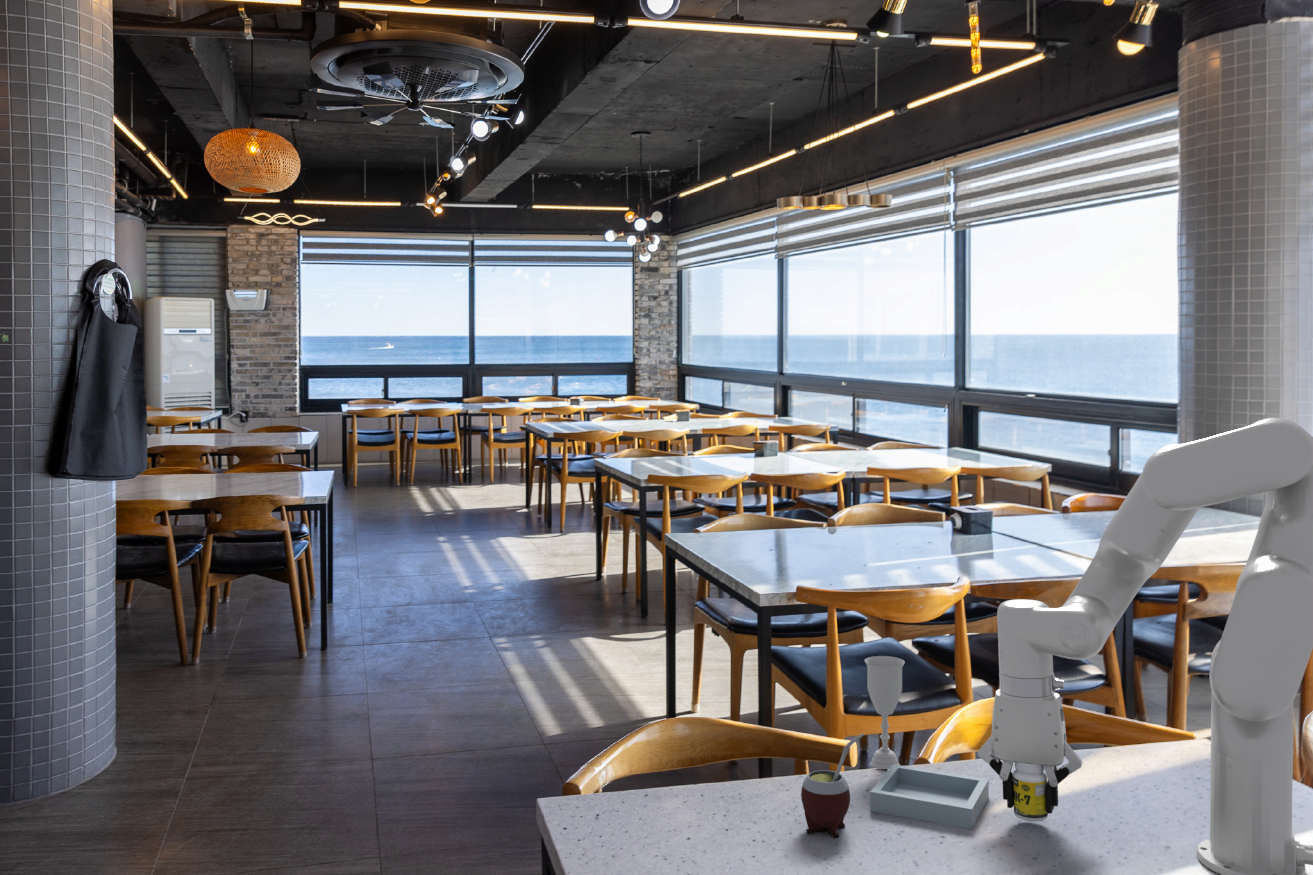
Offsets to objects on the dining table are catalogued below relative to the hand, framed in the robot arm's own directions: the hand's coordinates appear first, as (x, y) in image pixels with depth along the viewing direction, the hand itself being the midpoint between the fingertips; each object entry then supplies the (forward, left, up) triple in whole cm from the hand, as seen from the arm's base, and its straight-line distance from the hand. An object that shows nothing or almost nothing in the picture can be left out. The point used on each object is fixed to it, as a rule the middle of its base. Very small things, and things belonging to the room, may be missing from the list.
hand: (1030, 806), depth 152 cm
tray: (+15, -1, -3) cm, 15 cm away
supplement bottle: (0, 0, -2) cm, 2 cm away
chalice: (+26, -15, -3) cm, 30 cm away
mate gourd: (+26, +15, -3) cm, 30 cm away
